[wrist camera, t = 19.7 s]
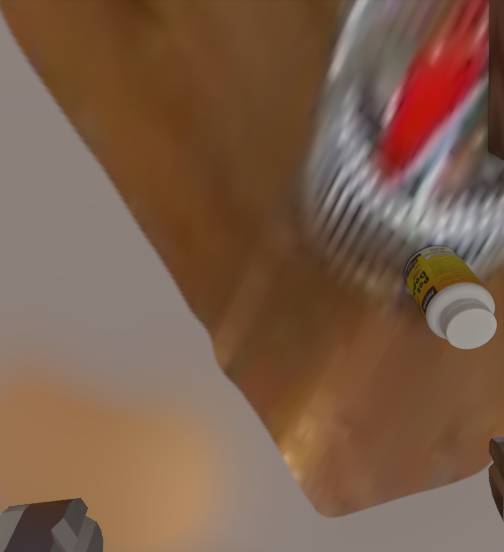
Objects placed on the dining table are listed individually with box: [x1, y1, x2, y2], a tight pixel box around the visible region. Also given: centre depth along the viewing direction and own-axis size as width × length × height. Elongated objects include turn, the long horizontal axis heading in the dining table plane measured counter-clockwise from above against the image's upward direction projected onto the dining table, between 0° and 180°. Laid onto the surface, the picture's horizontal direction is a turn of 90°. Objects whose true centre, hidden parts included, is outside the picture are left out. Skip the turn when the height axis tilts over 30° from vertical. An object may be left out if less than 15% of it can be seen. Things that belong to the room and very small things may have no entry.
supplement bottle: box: [405, 246, 497, 349], centre depth 42 cm, size 6×6×10 cm
